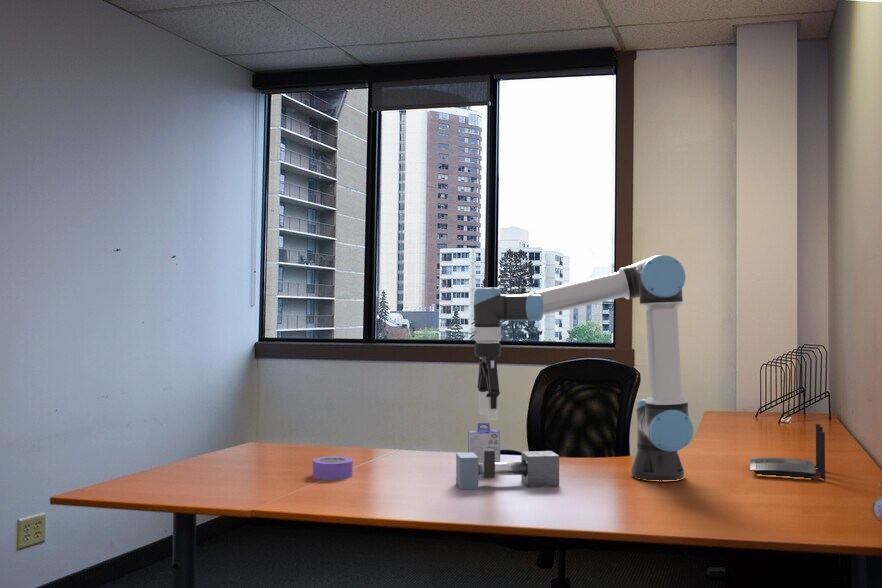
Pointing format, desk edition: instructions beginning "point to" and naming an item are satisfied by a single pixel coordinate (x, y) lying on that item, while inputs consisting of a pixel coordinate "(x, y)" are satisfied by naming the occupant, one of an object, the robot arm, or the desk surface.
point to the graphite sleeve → (540, 468)
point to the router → (794, 462)
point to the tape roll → (332, 468)
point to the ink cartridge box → (484, 441)
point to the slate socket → (467, 470)
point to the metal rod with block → (498, 465)
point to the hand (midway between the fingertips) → (488, 417)
